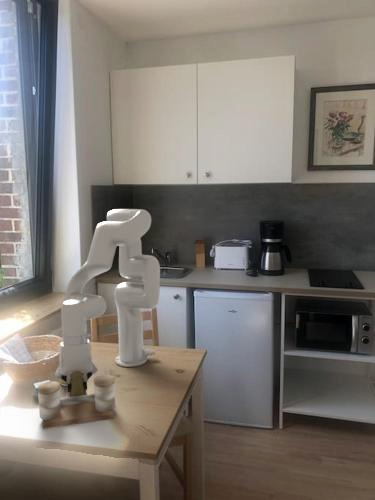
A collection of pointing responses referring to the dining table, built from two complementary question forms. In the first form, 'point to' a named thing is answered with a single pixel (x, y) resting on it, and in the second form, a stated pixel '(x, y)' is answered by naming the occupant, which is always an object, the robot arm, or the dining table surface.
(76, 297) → the robot arm
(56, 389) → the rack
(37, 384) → the grey rectangular block
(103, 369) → the dining table surface
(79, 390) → the cork
